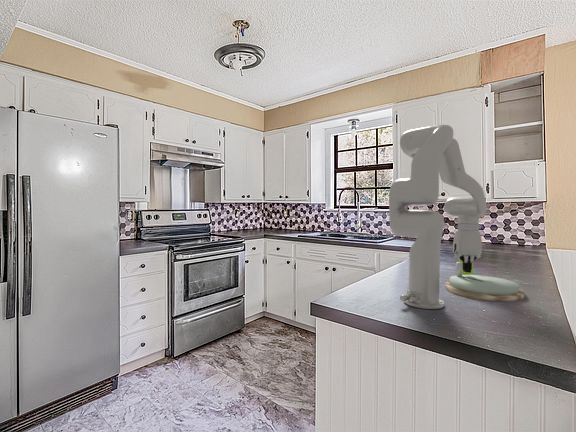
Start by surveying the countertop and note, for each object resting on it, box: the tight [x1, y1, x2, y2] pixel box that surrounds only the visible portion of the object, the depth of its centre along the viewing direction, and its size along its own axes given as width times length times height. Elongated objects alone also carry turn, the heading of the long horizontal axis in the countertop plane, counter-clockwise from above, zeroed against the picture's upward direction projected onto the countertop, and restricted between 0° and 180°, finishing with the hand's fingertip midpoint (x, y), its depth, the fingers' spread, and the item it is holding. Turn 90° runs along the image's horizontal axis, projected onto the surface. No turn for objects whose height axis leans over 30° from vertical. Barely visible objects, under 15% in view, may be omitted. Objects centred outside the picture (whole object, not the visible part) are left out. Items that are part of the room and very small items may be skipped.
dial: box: [449, 261, 521, 295], centre depth 125 cm, size 23×23×8 cm
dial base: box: [444, 280, 526, 303], centre depth 125 cm, size 26×26×2 cm
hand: (467, 271), depth 134 cm, fingers closed
